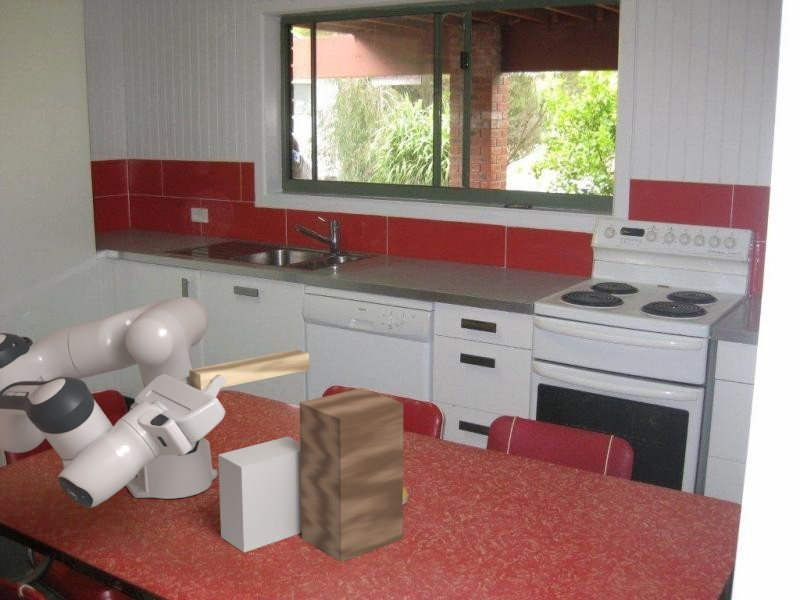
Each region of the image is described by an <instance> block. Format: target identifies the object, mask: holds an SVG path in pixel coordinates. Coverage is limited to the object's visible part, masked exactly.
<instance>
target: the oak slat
mask: <svg viewBox="0 0 800 600" xmlns="http://www.w3.org/2000/svg"><path fill="white" fill-rule="evenodd" d="M308 370H310V353H308V352H304V351H303V350H299V349H291V350H287V351H286V350H285V351H281V352H277V353H276V352H275V353H271V354H267V355H261V356H254V357H250V358H249V357H248V358H245V359H240V360H235V361H228V362H224V363H218V364H213V365H207V366H202V367H197V368H192V369H191V370H189V382H190V386H192V387H194V388H196V389H198V390H203V389H204V388H205V387H206V388H208V386H209V385H210V383H211V379H212V378H213V377H215V375H217V374H219V375H221V376H223V377H224V378H225V380H226V384H225V385H224V386H223V387H222V388H221V389H223V388H227V387H232V386H237V385H241V384H246V383H250V382H255V381H261V380H266V379H271V378H276V377H279V376H280V377H281V376H285V375H290V374H294V373H299V372H305V371H308Z"/></svg>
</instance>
